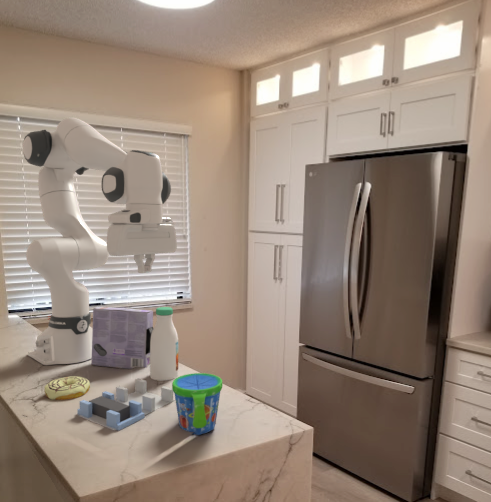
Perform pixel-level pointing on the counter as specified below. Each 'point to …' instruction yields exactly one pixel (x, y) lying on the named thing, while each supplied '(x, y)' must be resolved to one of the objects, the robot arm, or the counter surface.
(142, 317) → the cake pan box
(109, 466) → the counter surface
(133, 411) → the pegged tray
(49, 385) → the decorated donut
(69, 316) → the robot arm
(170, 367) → the milk bottle
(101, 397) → the long gray rectangular prism
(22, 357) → the counter surface
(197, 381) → the snack cup
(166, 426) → the counter surface
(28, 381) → the counter surface
